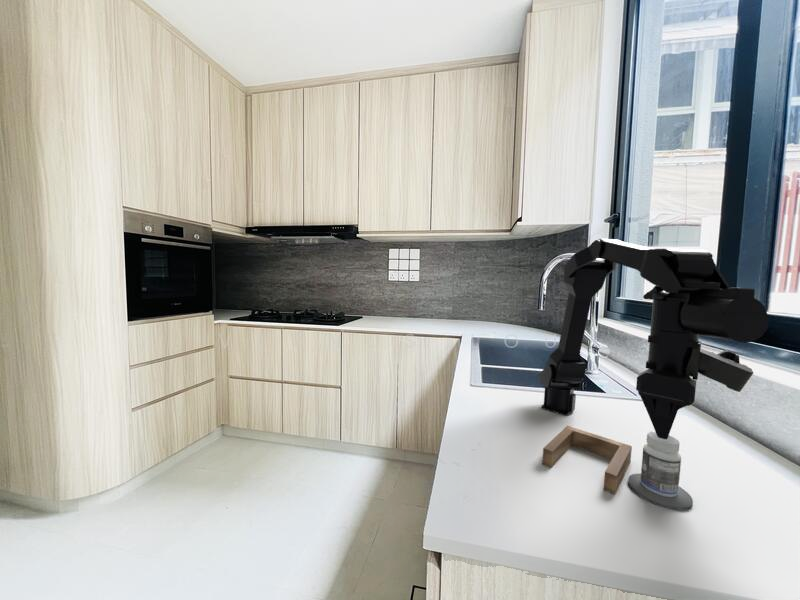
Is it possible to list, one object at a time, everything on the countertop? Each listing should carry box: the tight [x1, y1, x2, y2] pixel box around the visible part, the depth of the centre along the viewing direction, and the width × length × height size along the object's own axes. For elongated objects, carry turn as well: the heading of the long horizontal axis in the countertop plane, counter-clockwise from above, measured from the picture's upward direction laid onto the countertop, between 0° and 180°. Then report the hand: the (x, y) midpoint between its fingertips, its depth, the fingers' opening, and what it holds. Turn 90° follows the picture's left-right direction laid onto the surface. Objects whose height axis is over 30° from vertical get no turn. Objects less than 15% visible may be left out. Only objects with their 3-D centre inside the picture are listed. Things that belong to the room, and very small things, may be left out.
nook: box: [541, 425, 633, 495], centre depth 59 cm, size 11×14×3 cm
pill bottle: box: [640, 431, 682, 497], centre depth 51 cm, size 5×5×8 cm
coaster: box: [627, 473, 693, 511], centre depth 51 cm, size 8×8×1 cm
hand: (665, 428), depth 50 cm, fingers open, 9 cm apart
